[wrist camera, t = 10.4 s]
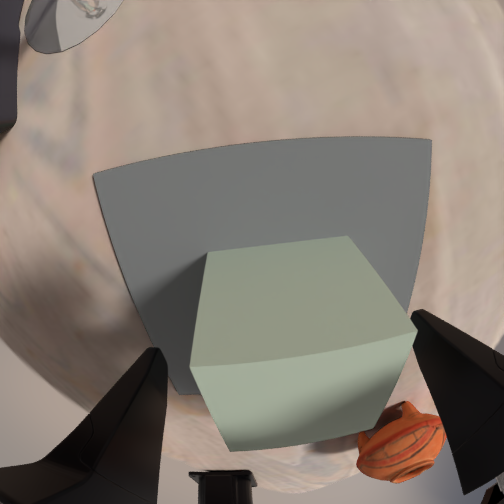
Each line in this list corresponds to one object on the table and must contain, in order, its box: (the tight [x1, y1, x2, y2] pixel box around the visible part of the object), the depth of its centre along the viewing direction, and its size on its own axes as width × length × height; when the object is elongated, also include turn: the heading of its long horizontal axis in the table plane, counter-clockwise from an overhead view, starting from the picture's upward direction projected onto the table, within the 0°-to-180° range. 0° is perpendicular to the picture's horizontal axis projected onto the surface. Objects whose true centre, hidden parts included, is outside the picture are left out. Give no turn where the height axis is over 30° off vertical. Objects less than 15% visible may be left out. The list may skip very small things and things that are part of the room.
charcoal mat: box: [93, 137, 432, 395], centre depth 11 cm, size 12×12×1 cm
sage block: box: [190, 236, 418, 452], centre depth 9 cm, size 5×5×5 cm
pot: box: [356, 401, 447, 483], centre depth 16 cm, size 8×8×7 cm
